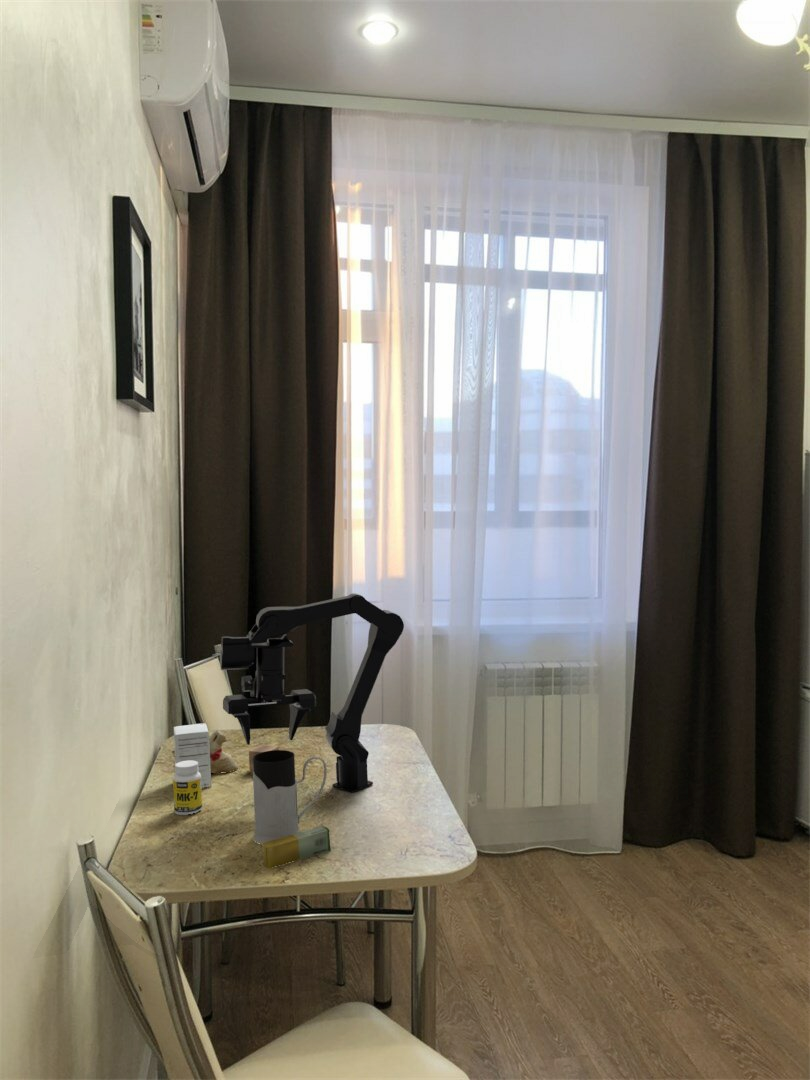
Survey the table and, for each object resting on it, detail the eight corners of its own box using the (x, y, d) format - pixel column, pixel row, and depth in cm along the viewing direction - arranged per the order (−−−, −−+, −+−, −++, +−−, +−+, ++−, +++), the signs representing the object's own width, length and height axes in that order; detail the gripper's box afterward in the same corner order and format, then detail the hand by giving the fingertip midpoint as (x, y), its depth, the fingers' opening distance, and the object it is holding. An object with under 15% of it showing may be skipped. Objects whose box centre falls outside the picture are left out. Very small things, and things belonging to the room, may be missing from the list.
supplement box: (175, 781, 184) (173, 726, 183) (209, 777, 186) (207, 722, 185) (176, 792, 177) (174, 734, 176) (211, 787, 179) (209, 730, 178)
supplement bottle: (174, 817, 162) (171, 769, 161) (174, 808, 167) (172, 761, 167) (202, 813, 163) (200, 765, 163) (202, 804, 168) (200, 758, 168)
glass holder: (249, 831, 153) (245, 752, 153) (322, 819, 158) (319, 742, 158) (257, 849, 145) (254, 766, 144) (334, 835, 150) (331, 755, 149)
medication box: (324, 846, 146) (323, 824, 146) (331, 851, 143) (330, 829, 143) (262, 865, 139) (260, 841, 139) (268, 870, 137) (266, 846, 137)
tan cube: (279, 767, 191) (278, 746, 191) (268, 774, 187) (267, 752, 186) (261, 765, 193) (260, 744, 193) (249, 772, 188) (248, 751, 188)
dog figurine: (211, 766, 194) (209, 724, 193) (240, 768, 191) (238, 726, 191) (197, 773, 189) (196, 730, 188) (227, 776, 186) (225, 732, 186)
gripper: (301, 659, 182) (300, 728, 182) (217, 664, 174) (216, 737, 174) (317, 667, 172) (316, 741, 172) (229, 673, 164) (228, 750, 164)
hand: (269, 742), depth 171 cm, fingers open, 9 cm apart
